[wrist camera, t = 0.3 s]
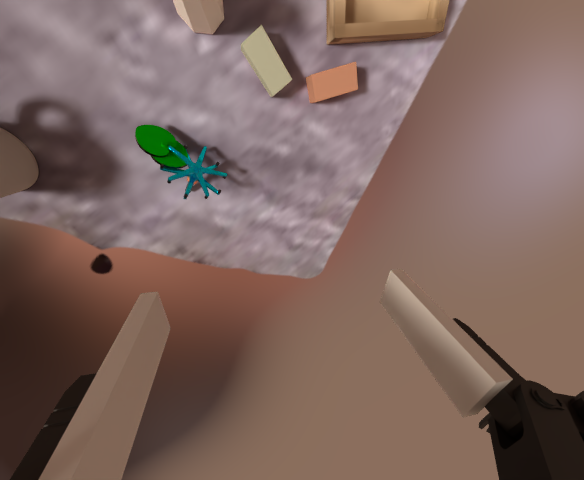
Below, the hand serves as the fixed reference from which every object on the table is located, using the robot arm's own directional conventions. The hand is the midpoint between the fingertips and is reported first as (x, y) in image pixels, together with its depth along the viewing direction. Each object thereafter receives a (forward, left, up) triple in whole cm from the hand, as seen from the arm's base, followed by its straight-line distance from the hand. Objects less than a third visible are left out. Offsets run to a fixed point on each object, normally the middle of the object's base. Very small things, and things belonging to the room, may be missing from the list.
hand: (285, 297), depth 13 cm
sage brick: (-14, +3, -27) cm, 31 cm away
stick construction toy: (-5, -8, -28) cm, 29 cm away
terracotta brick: (-12, +12, -27) cm, 32 cm away
